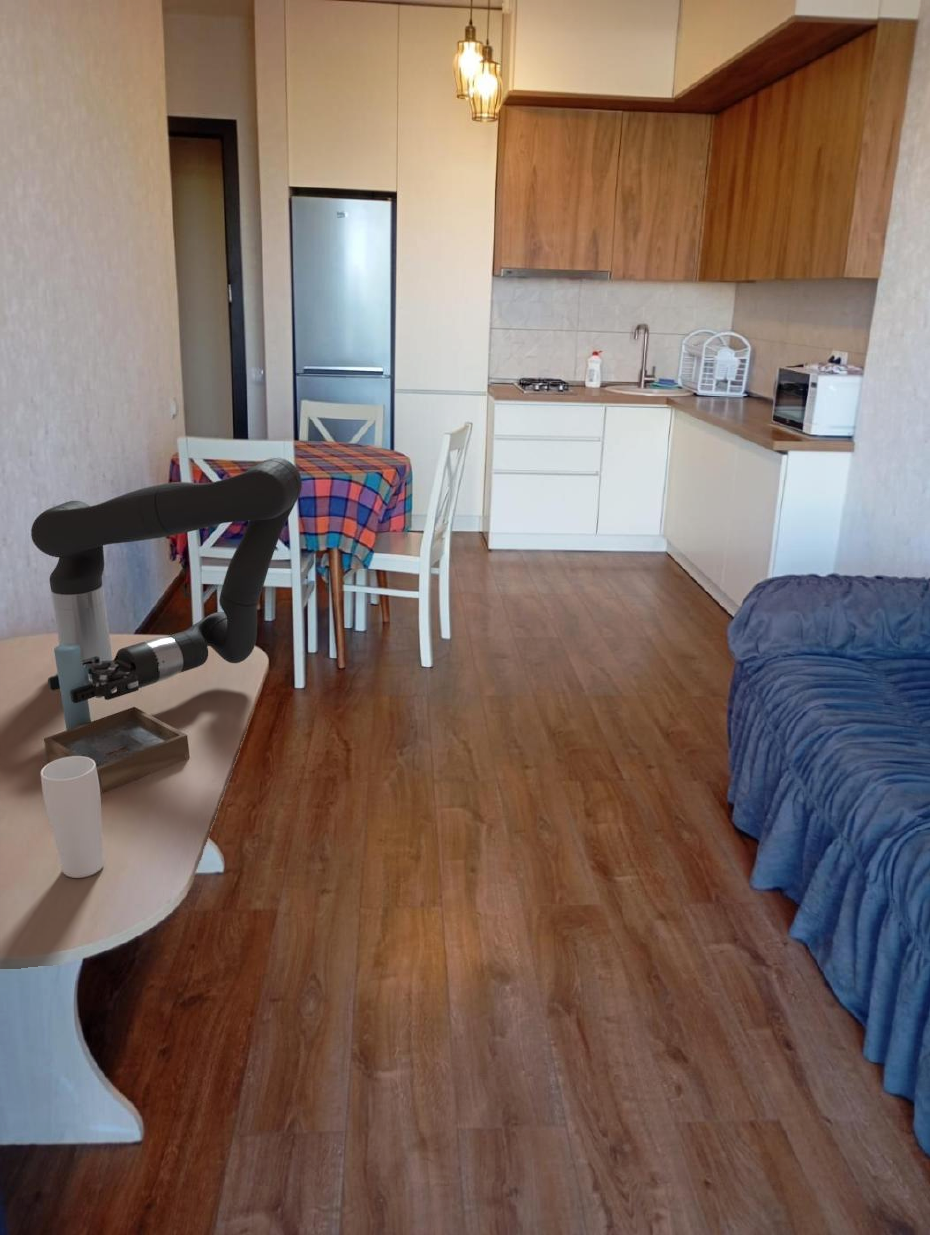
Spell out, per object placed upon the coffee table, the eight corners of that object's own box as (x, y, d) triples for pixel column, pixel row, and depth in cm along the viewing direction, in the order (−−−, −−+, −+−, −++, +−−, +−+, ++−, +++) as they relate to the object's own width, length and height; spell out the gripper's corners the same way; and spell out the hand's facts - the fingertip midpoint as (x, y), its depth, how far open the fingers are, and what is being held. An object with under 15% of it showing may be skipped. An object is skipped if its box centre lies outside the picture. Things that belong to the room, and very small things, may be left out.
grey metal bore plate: (54, 760, 161) (52, 746, 160) (135, 730, 171) (133, 717, 170) (100, 790, 152) (97, 776, 151) (182, 757, 162) (181, 743, 161)
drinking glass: (47, 869, 132) (30, 768, 127) (95, 848, 137) (80, 750, 132) (71, 889, 128) (55, 786, 123) (120, 867, 133) (106, 766, 127)
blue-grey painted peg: (63, 736, 169) (49, 648, 163) (85, 728, 172) (72, 641, 166) (74, 743, 166) (61, 654, 161) (97, 735, 169) (84, 647, 164)
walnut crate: (47, 760, 161) (43, 738, 159) (137, 727, 172) (134, 706, 170) (97, 794, 150) (94, 771, 149) (189, 757, 162) (187, 734, 160)
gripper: (125, 632, 179) (36, 658, 168) (170, 652, 170) (78, 681, 159) (130, 671, 182) (43, 699, 170) (174, 692, 173) (85, 724, 161)
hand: (60, 690), depth 164 cm, fingers open, 7 cm apart
